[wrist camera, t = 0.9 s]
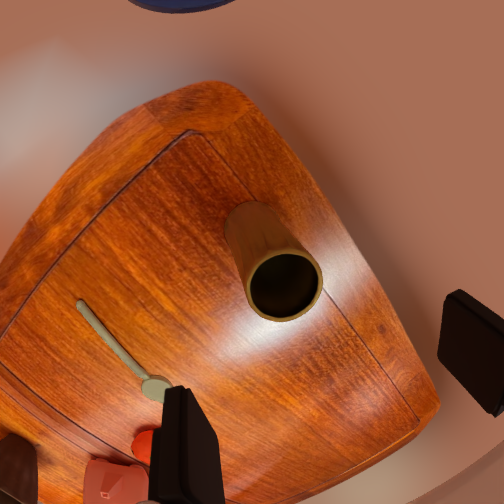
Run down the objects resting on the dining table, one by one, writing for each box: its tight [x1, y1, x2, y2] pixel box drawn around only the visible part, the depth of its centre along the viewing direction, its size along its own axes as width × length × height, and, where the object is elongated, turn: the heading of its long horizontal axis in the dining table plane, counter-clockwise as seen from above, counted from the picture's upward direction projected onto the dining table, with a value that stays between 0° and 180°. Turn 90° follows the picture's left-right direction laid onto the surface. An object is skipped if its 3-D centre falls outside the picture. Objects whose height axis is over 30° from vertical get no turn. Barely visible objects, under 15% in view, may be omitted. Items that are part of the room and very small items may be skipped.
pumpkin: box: [131, 430, 153, 464], centre depth 39 cm, size 7×8×6 cm
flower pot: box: [0, 434, 38, 504], centre depth 33 cm, size 15×15×16 cm
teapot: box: [83, 458, 149, 504], centre depth 39 cm, size 22×13×14 cm, turn 170°
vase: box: [224, 201, 323, 322], centre depth 26 cm, size 6×6×14 cm
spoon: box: [76, 300, 173, 403], centre depth 36 cm, size 19×4×1 cm, turn 29°
